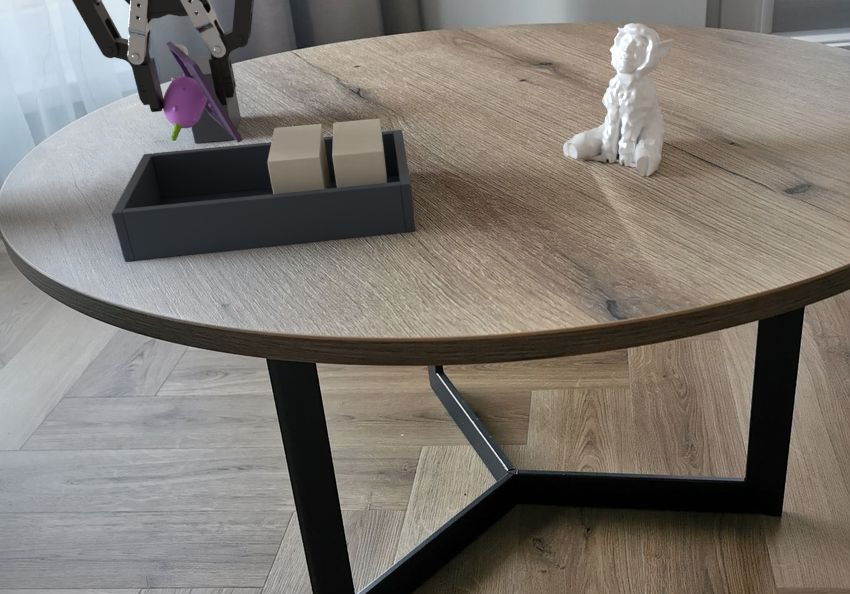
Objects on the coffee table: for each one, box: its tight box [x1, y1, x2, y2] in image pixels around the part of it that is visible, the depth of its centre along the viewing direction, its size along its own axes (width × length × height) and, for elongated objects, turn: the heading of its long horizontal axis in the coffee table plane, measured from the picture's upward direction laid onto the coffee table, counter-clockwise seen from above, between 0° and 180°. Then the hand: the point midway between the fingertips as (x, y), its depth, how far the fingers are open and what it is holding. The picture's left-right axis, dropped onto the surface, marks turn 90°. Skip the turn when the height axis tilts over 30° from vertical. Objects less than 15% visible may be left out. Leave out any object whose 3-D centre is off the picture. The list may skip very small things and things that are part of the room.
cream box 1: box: [268, 123, 331, 194], centre depth 80 cm, size 4×8×6 cm, turn 8°
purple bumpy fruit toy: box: [162, 41, 243, 144], centre depth 75 cm, size 7×5×9 cm
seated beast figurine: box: [562, 22, 675, 177], centre depth 87 cm, size 10×9×12 cm
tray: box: [111, 129, 416, 263], centre depth 80 cm, size 23×14×5 cm, turn 98°
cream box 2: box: [332, 118, 388, 188], centre depth 80 cm, size 4×8×6 cm, turn 8°
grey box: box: [180, 54, 242, 144], centre depth 102 cm, size 4×8×7 cm, turn 8°
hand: (191, 105), depth 76 cm, fingers closed on purple bumpy fruit toy, 4 cm apart
